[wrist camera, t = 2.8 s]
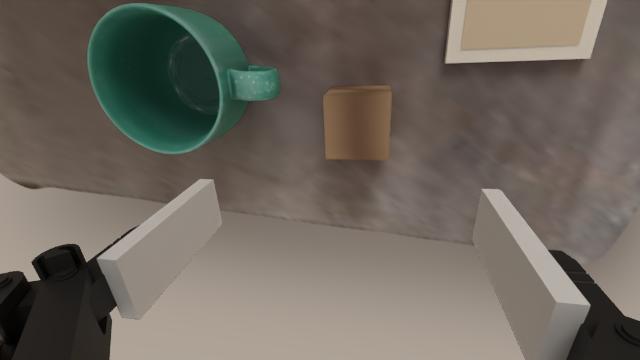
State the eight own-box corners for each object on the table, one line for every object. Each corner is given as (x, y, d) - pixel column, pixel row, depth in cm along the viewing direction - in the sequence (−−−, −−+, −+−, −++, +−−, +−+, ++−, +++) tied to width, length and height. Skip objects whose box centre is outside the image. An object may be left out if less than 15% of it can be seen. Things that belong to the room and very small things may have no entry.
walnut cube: (334, 140, 35) (325, 159, 30) (332, 86, 33) (323, 96, 27) (387, 141, 34) (388, 160, 29) (390, 85, 32) (391, 94, 26)
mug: (164, 121, 38) (102, 144, 30) (149, 5, 33) (68, -6, 24) (293, 140, 36) (266, 172, 28) (300, 20, 31) (270, 14, 22)
